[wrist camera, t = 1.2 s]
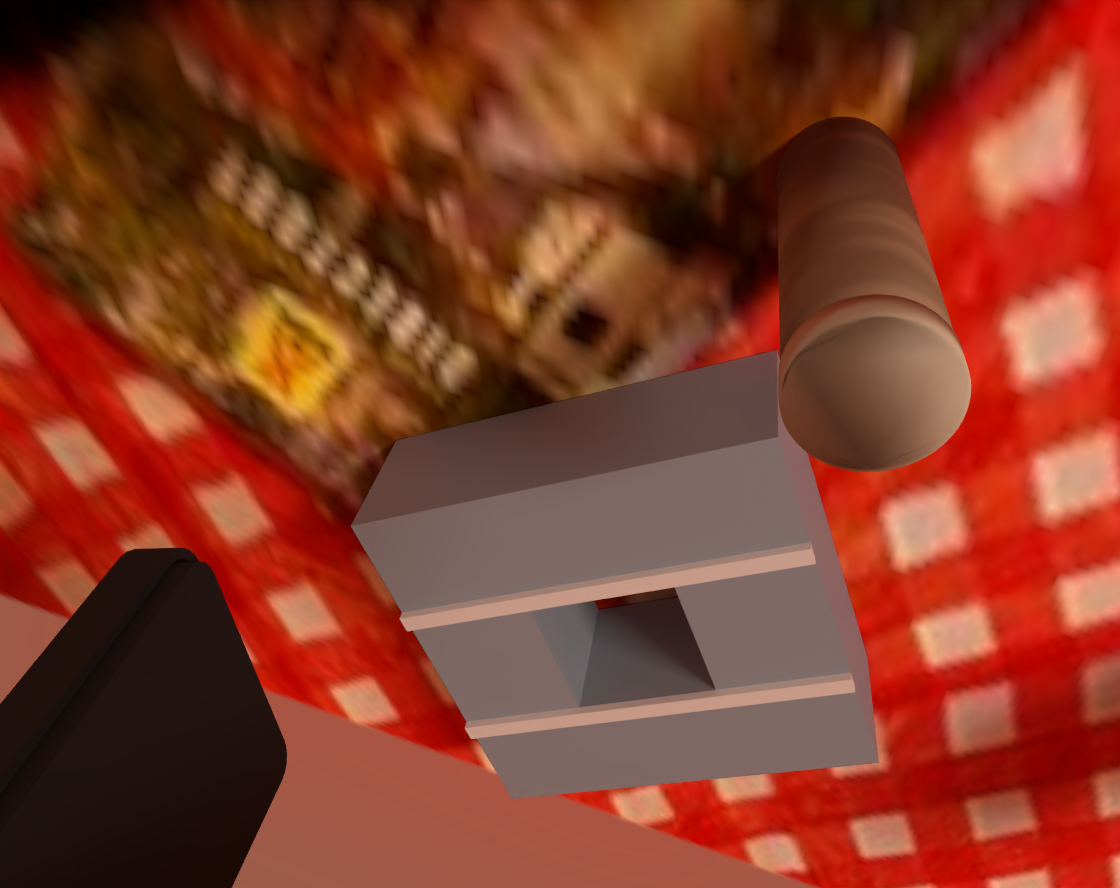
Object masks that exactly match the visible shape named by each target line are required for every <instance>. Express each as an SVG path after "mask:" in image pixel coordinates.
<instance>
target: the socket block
mask: <svg viewBox="0 0 1120 888" xmlns="http://www.w3.org/2000/svg"><path fill="white" fill-rule="evenodd" d="M779 364H780V359H779V355H778V352H777V350H774V351H770V352H766V353H762V354H757V355H753V356H749V357H745V358H741V359H736V360H732V361H728V362H724V363H720V364H715V365H711V366H707V367H703V368H699V369H694V370H690V371H686V372H682V373H677V374H673V375H669V376H665V377H661V378H656V379H652V380H648V381H644V382H640V383H635V384H631V385H627V386H623V387H619V388H614V389H610V390H606V391H602V392H598V393H593V394H589V395H585V396H581V397H576V398H572V399H568V400H564V401H560V402H555V403H551V404H547V405H543V406H539V407H534V408H530V409H526V410H522V411H518V412H513V413H509V414H505V415H501V416H497V417H492V418H488V419H484V420H480V421H475V422H471V423H467V424H463V425H459V426H454V427H450V428H446V429H442V430H438V431H433V432H429V433H425V434H421V435H417V436H412V437H408V438H404V439H400V440H396V442H395V444H394V446H393V448H392V450H391V451H390V453H389V455H388V457H387V459H386V461H385V463H384V465H383V466H382V468H381V470H380V472H379V474H378V476H377V478H376V480H375V481H374V483H373V485H372V487H371V489H370V491H369V493H368V495H367V496H366V498H365V500H364V502H363V504H362V506H361V508H360V510H359V511H358V513H357V515H356V517H355V519H354V521H353V523H352V525H351V528H352V529H353V531H354V533H355V534H356V536H357V538H358V539H359V541H360V543H361V545H362V546H363V548H364V550H365V551H366V553H367V555H368V556H369V558H370V560H371V561H372V563H373V565H374V566H375V568H376V570H377V572H378V573H379V575H380V577H381V578H382V580H383V582H384V583H385V585H386V587H387V588H388V590H389V592H390V593H391V595H392V597H393V599H394V600H395V602H396V604H397V605H398V607H399V609H400V610H401V612H402V614H401V616H400V621H401V622H402V624H403V626H404V627H405V629H406V631H413V632H414V634H415V636H416V637H417V639H418V641H419V642H420V644H421V646H422V647H423V649H424V651H425V653H426V654H427V656H428V658H429V659H430V661H431V663H432V664H433V666H434V668H435V669H436V671H437V673H438V674H439V676H440V678H441V680H442V681H443V683H444V685H445V686H446V688H447V690H448V691H449V693H450V695H451V696H452V698H453V700H454V701H455V703H456V705H457V706H458V708H459V710H460V712H461V713H462V715H463V717H464V718H465V720H466V725H465V730H466V731H467V733H468V735H469V736H470V738H471V739H477V740H478V742H479V744H480V745H481V747H482V749H483V750H484V752H485V754H486V755H487V757H488V759H489V760H490V762H491V764H492V766H493V767H494V769H495V771H496V772H497V774H498V776H499V777H500V779H501V781H502V782H503V784H504V786H505V787H506V789H507V791H508V793H509V794H510V796H511V798H512V799H514V798H525V797H535V796H545V795H555V794H566V793H576V792H586V791H596V790H606V789H616V788H627V787H637V786H647V785H657V784H667V783H677V782H688V781H698V780H708V779H718V778H728V777H739V776H749V775H759V774H769V773H779V772H789V771H800V770H810V769H820V768H830V767H840V766H851V765H861V764H871V763H879V762H878V753H877V743H876V734H875V725H874V716H873V706H872V697H871V688H870V679H869V669H868V660H867V655H866V651H865V648H864V645H863V641H862V638H861V634H860V631H859V627H858V624H857V621H856V617H855V614H854V610H853V607H852V604H851V600H850V597H849V593H848V590H847V587H846V583H845V580H844V576H843V573H842V570H841V566H840V563H839V559H838V556H837V553H836V549H835V546H834V542H833V539H832V536H831V532H830V529H829V525H828V522H827V519H826V515H825V512H824V508H823V505H822V502H821V498H820V495H819V491H818V488H817V485H816V481H815V478H814V474H813V471H812V468H811V464H810V461H809V457H808V454H807V452H806V451H805V450H803V449H802V448H801V447H800V446H799V445H798V444H797V443H796V442H795V441H794V439H793V438H792V437H791V436H790V434H789V432H788V431H787V429H786V427H785V425H784V423H783V420H782V418H781V414H780V409H779V399H778V371H779ZM673 587H674V588H675V590H676V593H677V595H678V597H675V598H668V599H662V600H656V601H650V602H644V603H637V604H631V605H625V606H619V607H613V608H606V609H600V610H598V608H597V606H596V603H595V601H594V600H601V599H607V598H613V597H619V596H625V595H631V594H637V593H643V592H649V591H655V590H661V589H667V588H673Z"/></svg>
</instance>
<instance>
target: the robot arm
mask: <svg viewBox="0 0 1120 888" xmlns="http://www.w3.org/2000/svg"><path fill="white" fill-rule="evenodd" d="M286 762H287V750H286V744H285V741H284V739H283V736H282V733H281V731H280V729H279V726H278V724H277V722H276V719H275V717H274V714H273V712H272V710H271V707H270V705H269V703H268V700H267V698H266V696H265V693H264V691H263V688H262V686H261V684H260V681H259V679H258V677H257V674H256V672H255V669H254V667H253V665H252V662H251V660H250V658H249V655H248V653H247V650H246V648H245V646H244V643H243V641H242V639H241V636H240V634H239V632H238V629H237V627H236V624H235V622H234V620H233V617H232V615H231V613H230V610H229V608H228V605H227V603H226V601H225V598H224V596H223V594H222V591H221V589H220V586H219V584H218V582H217V579H216V577H215V575H214V572H213V571H212V569H211V567H210V566H209V565H208V564H206V563H205V562H200V561H199V560H198V559H197V557H196V555H195V554H194V553H192V552H191V551H190V550H189V549H185V548H156V549H134V550H130V551H127V552H126V553H125V554H124V555H122V556H121V557H120V558H119V559H118V560H117V562H116V563H115V564H114V565H113V567H112V568H111V569H110V570H109V572H108V573H107V574H106V575H105V576H104V578H103V579H102V580H101V581H100V583H99V584H98V585H97V586H96V587H95V589H94V590H93V591H92V592H91V594H90V595H89V596H88V597H87V598H86V600H85V601H84V602H83V603H82V605H81V606H80V607H79V608H78V610H77V611H76V612H75V613H74V614H73V616H72V617H71V618H70V619H69V621H68V622H67V623H66V625H65V626H64V627H63V628H62V629H61V630H60V632H59V633H58V634H57V635H56V636H55V638H54V639H53V640H52V641H51V643H50V644H49V645H48V646H47V648H46V649H45V650H44V651H43V653H42V654H41V655H40V656H39V657H38V659H37V660H36V661H35V662H34V663H33V665H32V666H31V667H30V668H29V670H28V671H27V672H26V673H25V674H24V676H23V677H22V678H21V679H20V681H19V682H18V683H17V684H16V686H15V687H14V688H13V689H12V691H11V692H10V693H9V694H8V695H7V697H6V698H5V699H4V700H3V701H2V703H1V704H0V888H232V886H233V884H234V881H235V879H236V877H237V875H238V873H239V871H240V868H241V867H242V864H243V862H244V860H245V858H246V856H247V854H248V851H249V850H250V847H251V845H252V843H253V841H254V839H255V837H256V834H257V832H258V830H259V828H260V826H261V824H262V822H263V820H264V817H265V815H266V813H267V811H268V809H269V807H270V805H271V803H272V800H273V798H274V796H275V794H276V792H277V790H278V788H279V785H280V783H281V781H282V779H283V776H284V773H285V769H286Z"/></svg>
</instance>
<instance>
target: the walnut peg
mask: <svg viewBox="0 0 1120 888" xmlns="http://www.w3.org/2000/svg"><path fill="white" fill-rule="evenodd" d="M777 218H778V269H779V319H780V364H779V371H778V399H779V409H780V414H781V418H782V420H783V423H784V425H785V427H786V429H787V431H788V432H789V434H790V436H791V437H792V438H793V439H794V441H795V442H796V443H797V444H798V445H799V446H800V447H801V448H802V449H803V450H805V451H806V452H807V453H809V454H810V455H811V456H813V457H815V458H816V459H818V460H820V461H822V462H824V463H827V464H829V465H832V466H835V467H838V468H842V469H846V470H852V471H863V472H873V471H884V470H891V469H895V468H899V467H903V466H906V465H909V464H912V463H914V462H916V461H918V460H920V459H923V458H925V457H926V456H928V455H929V454H931V453H933V452H934V451H936V450H937V449H938V448H939V447H941V446H942V445H943V444H944V443H945V442H946V441H947V440H948V439H949V438H950V437H951V436H952V435H953V434H954V432H955V431H956V430H957V429H958V427H959V426H960V424H961V422H962V420H963V419H964V417H965V414H966V411H967V409H968V406H969V401H970V397H971V380H970V374H969V370H968V366H967V363H966V360H965V357H964V354H963V351H962V348H961V344H960V342H959V340H958V338H957V336H956V334H955V333H954V331H953V328H952V325H951V322H950V319H949V316H948V313H947V309H946V306H945V303H944V300H943V297H942V293H941V290H940V287H939V284H938V281H937V278H936V274H935V271H934V268H933V265H932V262H931V258H930V255H929V252H928V249H927V246H926V243H925V239H924V236H923V233H922V230H921V227H920V223H919V220H918V217H917V214H916V211H915V208H914V204H913V201H912V198H911V195H910V192H909V188H908V185H907V182H906V179H905V176H904V173H903V169H902V166H901V163H900V160H899V157H898V153H897V151H896V148H895V146H894V144H893V143H892V141H891V140H890V138H889V137H888V136H887V135H886V134H885V132H883V131H882V130H881V129H880V128H879V127H877V126H875V125H874V124H872V123H870V122H868V121H865V120H862V119H858V118H853V117H835V118H829V119H825V120H822V121H820V122H817V123H815V124H813V125H811V126H809V127H807V128H806V129H805V130H803V131H802V132H801V133H799V134H798V135H797V136H796V137H795V138H794V139H793V140H792V141H791V143H790V144H789V145H788V147H787V148H786V150H785V151H784V153H783V155H782V157H781V160H780V163H779V167H778V171H777Z"/></svg>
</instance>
